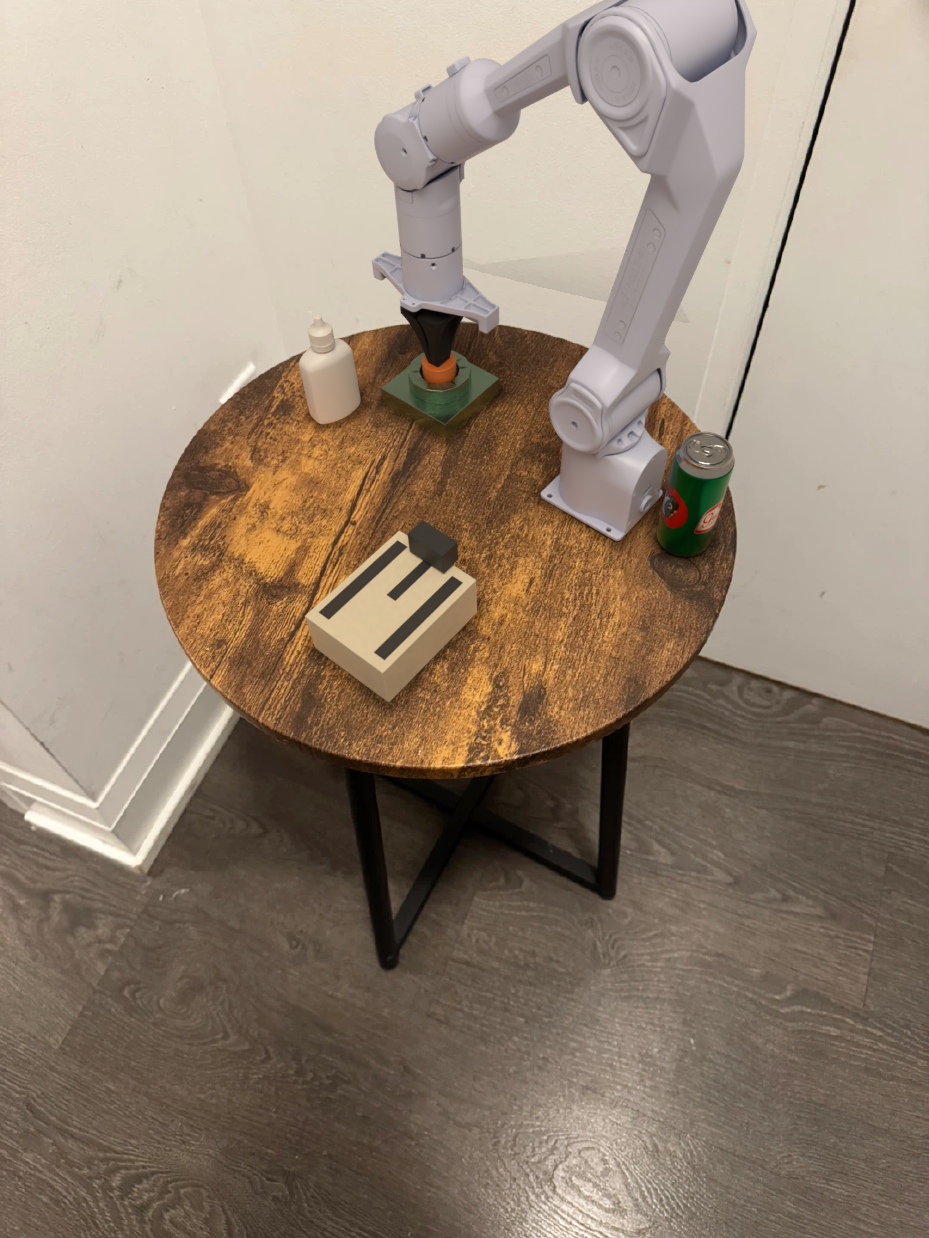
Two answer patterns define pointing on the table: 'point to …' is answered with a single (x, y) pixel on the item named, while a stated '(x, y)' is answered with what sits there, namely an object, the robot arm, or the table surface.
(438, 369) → the button
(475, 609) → the toaster
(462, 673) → the table surface
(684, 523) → the soda can
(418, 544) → the block
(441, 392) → the panel
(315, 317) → the eye dropper bottle
